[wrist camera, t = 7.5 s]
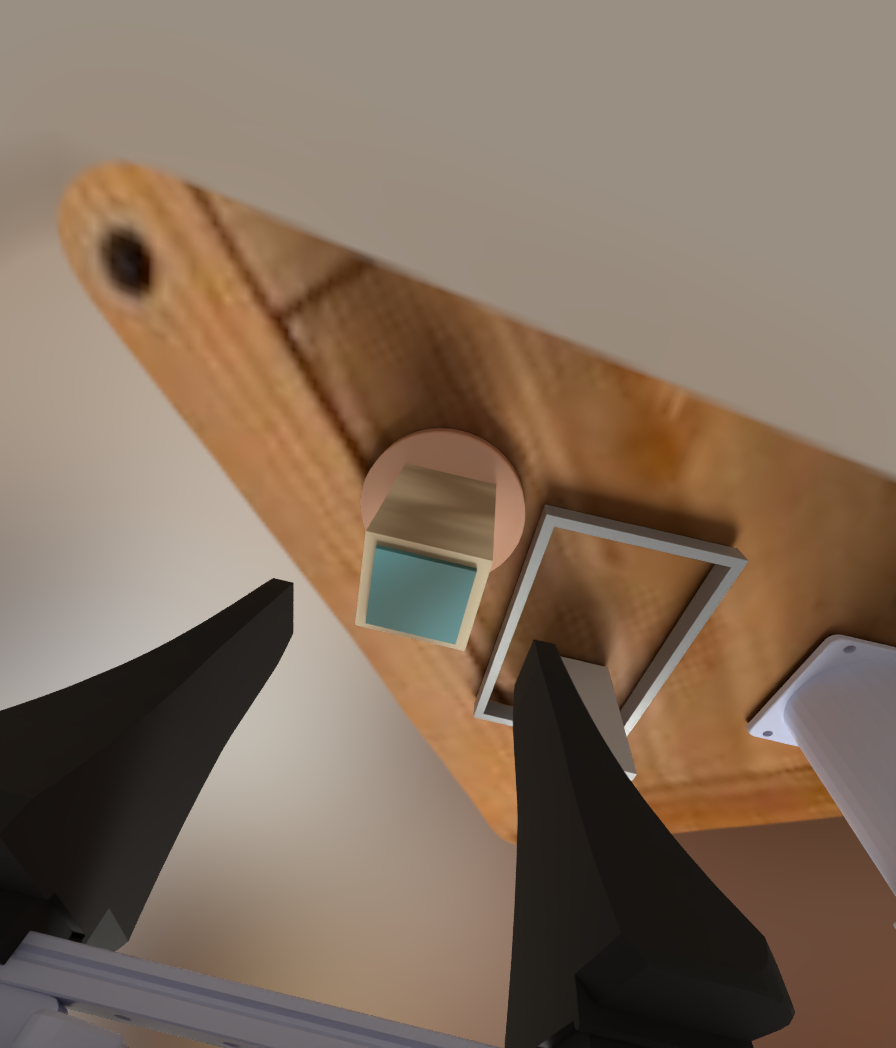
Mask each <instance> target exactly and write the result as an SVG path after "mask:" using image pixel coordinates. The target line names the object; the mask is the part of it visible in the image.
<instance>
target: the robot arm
mask: <svg viewBox="0 0 896 1048" xmlns="http://www.w3.org/2000/svg"><path fill="white" fill-rule="evenodd" d="M292 635H293V583H292V582H288V581H283V580H279V579H275V578H273V579H271V580H269V581H268V582H266V583H265V584H263V585H261V586H260V587H258V588H257V589H255V590H254V591H252V592H251V593H249V594H248V595H246V596H244V597H243V598H241V599H240V600H238V601H237V602H235V603H234V604H232V605H231V606H229V607H227V608H226V609H224V610H222V611H221V612H219V613H218V614H216V615H214V616H213V617H211V618H209V619H208V620H206V621H204V622H203V623H201V624H199V625H198V626H196V627H194V628H192V629H191V630H189V631H187V632H186V633H183V634H182V635H180V636H178V637H176V638H175V639H173V640H171V641H169V642H167V643H165V644H163V645H161V646H160V647H158V648H156V649H154V650H152V651H150V652H148V653H146V654H143V655H142V656H139V657H137V658H135V659H133V660H131V661H129V662H127V663H124V664H122V665H120V666H118V667H115V668H113V669H110V670H108V671H106V672H103V673H101V674H98V675H96V676H94V677H91V678H89V679H86V680H84V681H82V682H79V683H77V684H74V685H72V686H69V687H67V688H64V689H61V690H59V691H56V692H53V693H50V694H48V695H45V696H42V697H40V698H37V699H34V700H31V701H28V702H25V703H22V704H19V705H16V706H14V707H10V708H7V709H5V710H1V711H0V1048H128V1047H127V1046H126V1045H125V1044H124V1043H123V1035H122V1034H119V1033H117V1032H114V1031H111V1030H108V1029H106V1028H103V1027H100V1026H97V1025H95V1024H92V1023H89V1022H86V1021H84V1020H81V1019H78V1018H75V1017H73V1016H70V1015H68V1011H67V1009H66V1008H68V1009H71V1010H75V1011H79V1012H84V1013H87V1014H91V1015H96V1016H99V1017H103V1018H107V1019H111V1020H115V1021H119V1022H123V1023H127V1024H131V1025H135V1026H139V1027H143V1028H147V1029H151V1030H155V1031H160V1032H164V1033H168V1034H172V1035H175V1036H179V1037H183V1038H187V1039H191V1040H195V1041H200V1042H203V1043H207V1044H212V1045H215V1046H219V1047H223V1048H500V1047H496V1046H492V1045H488V1044H485V1043H480V1042H477V1041H472V1040H468V1039H464V1038H460V1037H456V1036H452V1035H448V1034H444V1033H440V1032H436V1031H432V1030H428V1029H424V1028H420V1027H416V1026H412V1025H408V1024H404V1023H400V1022H396V1021H392V1020H388V1019H384V1018H380V1017H376V1016H372V1015H368V1014H364V1013H360V1012H356V1011H352V1010H348V1009H344V1008H339V1007H335V1006H331V1005H327V1004H324V1003H320V1002H316V1001H311V1000H307V999H303V998H299V997H295V996H291V995H287V994H283V993H279V992H275V991H271V990H267V989H263V988H259V987H255V986H251V985H247V984H243V983H239V982H235V981H231V980H227V979H223V978H219V977H215V976H211V975H207V974H202V973H198V972H194V971H190V970H186V969H183V968H178V967H175V966H171V965H166V964H162V963H159V962H155V961H150V960H146V959H142V958H138V957H134V956H130V955H126V954H122V953H118V952H115V951H116V950H118V949H119V948H120V947H122V946H123V945H124V944H125V943H127V942H128V941H129V939H130V936H131V934H132V932H133V930H134V927H135V925H136V923H137V921H138V918H139V916H140V914H141V912H142V910H143V908H144V905H145V903H146V901H147V899H148V897H149V895H150V893H151V890H152V888H153V886H154V884H155V882H156V880H157V878H158V875H159V873H160V871H161V869H162V867H163V865H164V863H165V861H166V859H167V857H168V855H169V852H170V850H171V849H172V847H173V845H174V842H175V840H176V838H177V836H178V834H179V832H180V830H181V828H182V826H183V824H184V822H185V820H186V818H187V816H188V814H189V812H190V810H191V808H192V807H193V805H194V803H195V801H196V799H197V797H198V794H199V793H200V791H201V789H202V787H203V785H204V783H205V781H206V779H207V778H208V776H209V774H210V772H211V770H212V768H213V767H214V764H215V763H216V761H217V759H218V757H219V755H220V753H221V752H222V750H223V748H224V746H225V745H226V743H227V741H228V740H229V738H230V736H231V735H232V733H233V732H234V730H235V729H236V727H237V726H238V724H239V723H240V721H241V720H242V718H243V717H244V715H245V714H246V712H247V711H248V709H249V707H250V706H251V704H252V703H253V701H254V700H255V698H256V697H257V695H258V694H259V692H260V691H261V689H262V688H263V686H264V685H265V683H266V682H267V680H268V679H269V677H270V676H271V674H272V672H273V671H274V669H275V668H276V666H277V664H278V663H279V661H280V659H281V657H282V655H283V653H284V651H285V649H286V647H287V645H288V643H289V641H290V639H291V637H292ZM747 730H748V732H749V733H750V734H751V735H753V736H756V737H760V738H764V739H769V740H773V741H777V742H781V743H786V744H790V745H794V746H799V747H800V749H801V750H802V752H803V753H804V755H805V756H806V758H807V760H808V761H809V763H810V764H811V766H812V767H813V769H814V770H815V772H816V774H817V775H818V777H819V778H820V780H821V781H822V783H823V784H824V786H825V787H826V789H827V791H828V792H829V794H830V795H831V797H832V798H833V800H834V801H835V803H836V804H837V806H838V808H839V809H840V811H841V812H842V814H843V815H844V817H845V818H846V820H847V821H848V823H849V825H850V826H851V828H852V829H853V831H854V832H855V834H856V835H857V837H858V839H859V840H860V841H861V843H862V845H863V846H864V848H865V849H866V851H867V852H868V854H869V856H870V857H871V859H872V860H873V862H874V863H875V865H876V866H877V868H878V869H879V871H880V872H881V874H882V876H883V877H884V879H885V880H886V882H887V883H888V885H889V886H890V888H891V890H892V891H893V893H894V894H895V896H896V647H892V646H888V645H884V644H879V643H875V642H871V641H866V640H862V639H858V638H853V637H849V636H845V635H838V634H837V635H832V636H829V637H828V638H826V639H825V640H824V641H823V642H822V643H821V645H820V646H819V647H818V648H817V649H816V650H815V651H814V652H813V653H812V654H811V655H810V657H809V658H808V659H807V660H806V661H805V662H804V663H803V664H802V665H801V666H800V667H799V669H798V670H797V671H796V672H795V673H794V674H793V675H792V676H791V677H790V678H789V679H788V681H787V682H786V683H785V684H784V685H783V686H782V687H781V688H780V689H779V690H778V691H777V693H776V694H775V695H774V696H773V697H772V698H771V699H770V700H769V701H768V702H767V703H766V705H765V706H764V707H763V708H762V709H761V710H760V711H759V712H758V713H757V714H756V715H755V717H754V718H753V719H752V720H751V721H750V722H749V723H748V724H747ZM513 737H514V755H515V771H516V788H517V810H518V830H517V864H516V887H515V908H514V925H513V943H512V959H511V972H510V986H509V987H510V988H509V1000H508V1013H507V1025H506V1036H505V1048H753V1045H752V1042H751V1041H753V1040H755V1039H758V1038H760V1037H763V1036H765V1035H768V1034H771V1033H773V1032H776V1031H778V1030H780V1029H782V1028H784V1027H785V1026H787V1025H789V1024H790V1022H791V1020H792V1019H793V1016H794V1014H795V1011H794V1008H793V1005H792V1002H791V1000H790V997H789V994H788V992H787V989H786V987H785V984H784V981H783V979H782V976H781V974H780V971H779V968H778V966H777V964H776V962H775V959H774V957H773V955H772V953H771V950H770V948H769V946H768V944H767V941H766V939H765V937H764V936H763V935H762V934H761V933H760V932H759V931H758V929H757V928H755V926H754V925H753V924H752V923H751V922H750V921H749V920H748V919H747V918H746V917H745V916H744V915H743V914H742V913H741V912H740V911H739V910H738V908H736V906H735V905H734V904H733V903H732V902H731V901H730V900H729V899H728V898H727V897H726V896H725V895H724V894H723V893H722V892H721V891H720V890H719V889H718V888H717V887H716V886H715V884H713V882H712V881H711V880H710V879H709V878H708V877H707V876H706V874H705V873H704V872H703V871H702V870H701V868H700V867H699V866H698V865H697V864H696V863H695V862H694V860H693V859H692V858H691V857H690V856H689V855H688V854H687V852H686V851H685V850H684V849H683V848H682V846H681V845H680V844H679V843H678V842H677V840H676V839H675V838H674V837H673V836H672V834H671V833H670V832H669V830H668V829H667V828H666V827H665V825H664V824H663V823H662V822H661V820H660V819H659V818H658V817H657V815H656V814H655V813H654V811H653V810H652V809H651V808H650V806H649V805H648V804H647V803H646V801H645V800H644V798H643V797H642V796H641V794H640V793H639V792H638V790H637V789H636V788H635V786H634V785H633V783H632V782H631V780H630V779H629V777H628V776H627V774H626V773H625V772H624V770H623V769H622V767H621V766H620V764H619V763H618V761H617V759H616V758H615V756H614V755H613V753H612V752H611V750H610V748H609V747H608V745H607V743H606V742H605V740H604V738H603V737H602V735H601V733H600V732H599V730H598V728H597V727H596V725H595V723H594V721H593V719H592V718H591V716H590V714H589V712H588V710H587V708H586V707H585V705H584V703H583V701H582V699H581V697H580V695H579V693H578V691H577V689H576V687H575V685H574V683H573V681H572V679H571V677H570V675H569V673H568V671H567V669H566V667H565V665H564V663H563V660H562V658H561V656H560V654H559V652H558V650H557V648H556V646H555V644H551V643H547V642H543V641H538V640H533V643H532V645H531V647H530V650H529V652H528V655H527V657H526V659H525V662H524V664H523V667H522V669H521V671H520V674H519V676H518V679H517V681H516V683H515V688H514V703H513ZM894 927H895V929H896V922H895V923H894Z"/></svg>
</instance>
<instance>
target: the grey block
mask: <svg viewBox="0 0 896 1048" xmlns="http://www.w3.org/2000/svg"><path fill="white" fill-rule="evenodd" d="M561 658H562V660H563V663H564V665H565V667H566V669H567V671H568V673H569V675H570V677H571V679H572V681H573V683H574V685H575V687H576V689H577V691H578V693H579V695H580V697H581V699H582V701H583V703H584V705H585V707H586V708H587V710H588V712H589V714H590V716H591V718H592V719H593V721H594V723H595V725H596V727H597V728H598V730H599V732H600V733H601V735H602V737H603V738H604V740H605V742H606V743H607V745H608V747H609V748H610V750H611V752H612V753H613V755H614V756H615V758H616V759H617V761H618V763H619V764H620V766H621V767H622V769H623V770H624V772H625V773H626V774H627V776H628V777H629V779H630V780H631V781H632V780H633V779H634V777H635V776H636V775H637V773H636V769H635V766H634V762H633V758H632V754H631V751H630V747H629V743H628V740H627V736H626V732H625V729H624V725H623V721H622V718H621V714H620V710H619V706H618V703H617V699H616V695H615V692H614V688H613V684H612V681H611V677H610V673H609V670H608V667H604V666H600V665H596V664H591V663H587V662H583V661H578V660H574V659H570V658H566V657H561Z"/></svg>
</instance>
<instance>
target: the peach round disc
mask: <svg viewBox="0 0 896 1048" xmlns="http://www.w3.org/2000/svg"><path fill="white" fill-rule="evenodd" d="M405 463H407V464H411V465H415V466H419V467H424V468H428V469H432V470H436V471H441V472H445V473H449V474H453V475H458V476H462V477H466V478H470V479H475V480H479V481H483V482H487V483H492V484H496V505H495V526H494V547H493V562H492V565H491V568H490V572H491V571H492V570H494V569H495V568H497V567H498V566H500V565H501V564H502V563H503V562H504V561H505V560H506V559H507V558H508V557H509V556H510V555H511V553H512V552H513V551H514V549H515V548H516V546H517V544H518V542H519V540H520V538H521V535H522V532H523V528H524V523H525V503H524V494H523V489H522V485H521V482H520V479H519V477H518V475H517V473H516V471H515V469H514V467H513V466H512V464H511V463H510V462H509V460H508V459H507V458H506V457H505V456H504V455H503V454H502V452H501V451H500V450H498V449H497V448H496V447H495V446H493V445H492V444H491V443H489V442H487V441H486V440H484V439H482V438H481V437H478V436H476V435H474V434H471V433H468V432H465V431H462V430H456V429H450V428H432V429H425V430H420V431H416V432H414V433H411V434H408V435H406V436H404V437H402V438H400V439H399V440H397V441H396V442H394V443H393V444H392V445H390V446H389V447H388V448H387V449H386V450H385V451H384V452H383V453H382V454H381V456H380V457H379V458H378V459H377V461H376V462H375V463H374V465H373V466H372V468H371V469H370V471H369V473H368V475H367V477H366V478H365V481H364V484H363V487H362V493H361V515H362V519H363V523H364V526H365V529H366V530H367V528H368V526H369V525H370V523H371V521H372V520H373V518H374V516H375V515H376V513H377V511H378V509H379V508H380V506H381V504H382V503H383V501H384V499H385V497H386V496H387V494H388V492H389V491H390V489H391V487H392V485H393V484H394V482H395V480H396V479H397V477H398V475H399V474H400V472H401V470H402V468H403V467H404V465H405Z"/></svg>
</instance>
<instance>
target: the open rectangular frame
mask: <svg viewBox="0 0 896 1048" xmlns="http://www.w3.org/2000/svg"><path fill="white" fill-rule="evenodd" d="M554 527H558V528H562V529H567V530H571V531H575V532H580V533H584V534H588V535H593V536H597V537H601V538H606V539H610V540H615V541H619V542H623V543H628V544H632V545H636V546H641V547H645V548H649V549H654V550H658V551H662V552H667V553H671V554H675V555H680V556H684V557H688V558H693V559H697V560H701V561H706V562H710V563H714V564H715V565H714V567H713V568H712V570H711V571H710V573H709V574H708V576H707V577H706V579H705V580H704V582H703V584H702V585H701V587H700V588H699V590H698V591H697V593H696V594H695V596H694V598H693V599H692V601H691V602H690V604H689V605H688V607H687V608H686V610H685V612H684V613H683V615H682V616H681V618H680V619H679V621H678V622H677V624H676V626H675V627H674V629H673V630H672V632H671V633H670V635H669V636H668V638H667V639H666V641H665V643H664V644H663V646H662V647H661V649H660V650H659V652H658V653H657V655H656V657H655V658H654V660H653V661H652V663H651V664H650V666H649V667H648V669H647V671H646V672H645V674H644V675H643V677H642V678H641V680H640V681H639V683H638V684H637V686H636V688H635V689H634V691H633V692H632V694H631V695H630V697H629V698H628V700H627V702H626V703H625V705H624V706H623V708H622V709H621V711H620V714H621V718H622V721H623V725H624V729H625V732H626V736H628V734H629V733H630V732H631V730H632V729H633V727H634V726H635V724H636V723H637V721H638V720H639V719H640V717H641V716H642V714H643V713H644V711H645V710H646V708H647V707H648V706H649V704H650V703H651V701H652V700H653V698H654V697H655V695H656V694H657V693H658V691H659V690H660V688H661V687H662V685H663V684H664V682H665V681H666V680H667V678H668V677H669V675H670V674H671V672H672V671H673V669H674V668H675V667H676V665H677V664H678V662H679V661H680V659H681V658H682V656H683V655H684V654H685V652H686V651H687V649H688V648H689V646H690V645H691V643H692V642H693V641H694V639H695V638H696V636H697V635H698V633H699V632H700V630H701V629H702V628H703V626H704V625H705V623H706V622H707V620H708V619H709V617H710V616H711V614H712V613H713V612H714V610H715V609H716V607H717V606H718V604H719V603H720V601H721V600H722V599H723V597H724V596H725V594H726V593H727V591H728V590H729V588H730V587H731V586H732V584H733V583H734V581H735V580H736V578H737V577H738V575H739V574H740V573H741V571H742V570H743V568H744V567H745V565H746V564H747V562H748V560H747V559H746V557H745V556H744V555H743V554H742V553H741V552H740V551H739V550H738V549H737V548H733V547H729V546H724V545H720V544H716V543H711V542H707V541H703V540H698V539H694V538H690V537H685V536H681V535H676V534H672V533H668V532H663V531H659V530H655V529H650V528H646V527H642V526H637V525H633V524H629V523H624V522H620V521H615V520H611V519H607V518H602V517H598V516H594V515H589V514H585V513H581V512H576V511H572V510H568V509H563V508H559V507H555V506H550V505H546V504H545V505H544V508H543V511H542V513H541V516H540V519H539V522H538V525H537V528H536V530H535V533H534V536H533V539H532V542H531V545H530V547H529V550H528V553H527V556H526V559H525V562H524V564H523V567H522V570H521V573H520V576H519V579H518V581H517V584H516V587H515V590H514V593H513V596H512V598H511V601H510V604H509V607H508V610H507V613H506V615H505V618H504V621H503V624H502V627H501V629H500V632H499V635H498V638H497V641H496V644H495V646H494V649H493V652H492V655H491V658H490V661H489V663H488V666H487V669H486V672H485V675H484V678H483V680H482V683H481V686H480V689H479V692H478V695H477V697H476V700H475V703H474V716H473V717H475V718H479V719H484V720H488V721H492V722H496V723H501V724H505V725H509V726H513V707H512V706H508V705H504V704H500V703H495V702H491V701H488V700H489V698H490V695H491V692H492V690H493V687H494V684H495V682H496V679H497V676H498V674H499V671H500V668H501V666H502V663H503V661H504V658H505V655H506V653H507V650H508V647H509V645H510V642H511V639H512V637H513V634H514V631H515V629H516V626H517V624H518V621H519V618H520V616H521V613H522V610H523V608H524V605H525V602H526V600H527V597H528V594H529V592H530V589H531V587H532V584H533V581H534V579H535V576H536V573H537V571H538V568H539V565H540V563H541V560H542V557H543V555H544V552H545V550H546V547H547V544H548V542H549V539H550V536H551V534H552V531H553V528H554Z"/></svg>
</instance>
